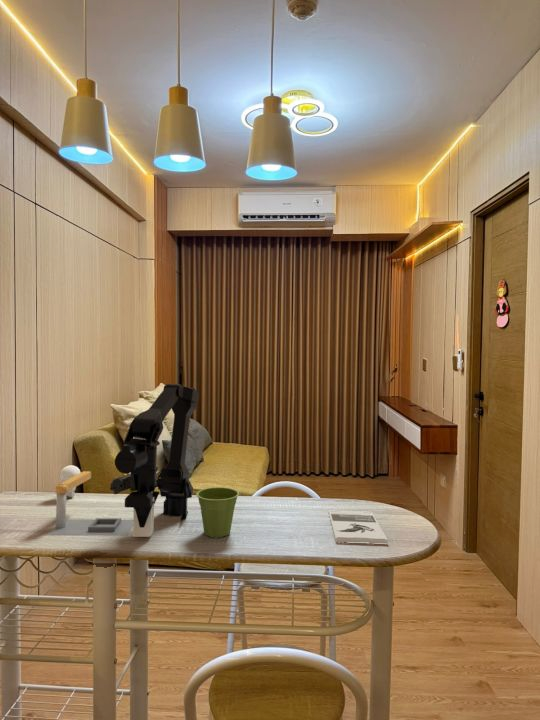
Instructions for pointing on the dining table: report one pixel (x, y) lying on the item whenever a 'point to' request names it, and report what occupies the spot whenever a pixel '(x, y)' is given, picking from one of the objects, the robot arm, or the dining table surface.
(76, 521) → the socket board
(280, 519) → the dining table surface
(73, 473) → the light bulb
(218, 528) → the plant pot
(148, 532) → the plug
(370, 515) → the book
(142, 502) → the robot arm
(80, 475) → the bar
